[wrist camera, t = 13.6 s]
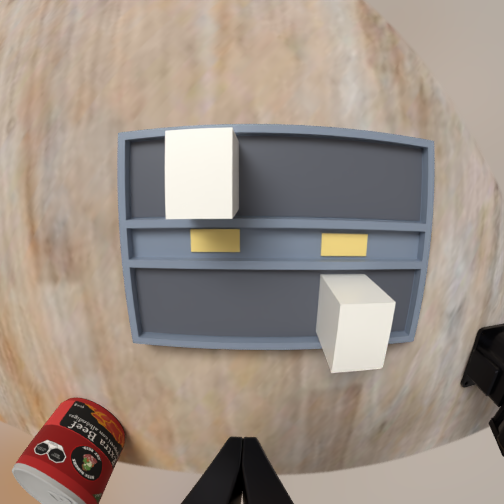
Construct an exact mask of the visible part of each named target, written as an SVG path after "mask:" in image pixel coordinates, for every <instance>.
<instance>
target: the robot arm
mask: <svg viewBox="0 0 504 504" xmlns="http://www.w3.org/2000/svg"><path fill="white" fill-rule="evenodd" d="M475 384H476V385H477V386H478V388H479V389H480V390H481V391H482V392H483V393H484V394H485V395H486V396H489V397H490V398H491V399H492V401H493V402H494V403H495V404H496V405H497V406H498V407H500V406H501V407H500V408H499V410H498V411H497V413H496V414H495V416H494V417H493V418H492V419H491V420H490V421H489V425H490V427H491V430H492V432H493V434H494V437H495V439H496V441H497V444H498V446H499V449H500V451H501V453H502V456H504V324H499V325H494V326H489V327H483V328H481V329H480V330H479V331H478V334H477V337H476V341H475V344H474V347H473V350H472V353H471V356H470V359H469V362H468V365H467V368H466V371H465V373H464V376H463V379H462V381H461V385H462V386H463V387H468V386H471V385H475ZM242 494H243V504H294V503H293V501H292V500H291V498H290V496H289V495H288V493H287V491H286V490H285V488H284V486H283V484H282V483H281V481H280V479H279V477H278V476H277V474H276V472H275V470H274V469H273V467H272V465H271V463H270V461H269V460H268V458H267V456H266V454H265V452H264V450H263V449H262V447H261V445H260V443H259V441H258V439H257V438H256V437H244V438H242V437H230V438H229V439H228V440H227V441H226V443H225V444H224V446H223V447H222V449H221V450H220V452H219V453H218V454H217V456H216V457H215V459H214V460H213V461H212V463H211V464H210V466H209V467H208V468H207V470H206V471H205V472H204V474H203V475H202V477H201V478H200V479H199V481H198V482H197V483H196V485H195V486H194V487H193V489H192V490H191V491H190V493H189V494H188V495H187V496H186V498H185V499H184V500H183V502H182V503H181V504H241V498H242Z"/></svg>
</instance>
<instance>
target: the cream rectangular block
mask: <svg viewBox="0 0 504 504" xmlns="http://www.w3.org/2000/svg"><path fill="white" fill-rule="evenodd" d="M238 210H239V141H238V139H237V137H236V134H235V132H234V130H233V127H227V128H199V129H182V130H169V131H165V213H166V219H232V218H233V217H234V216H235V214H236V213H237V211H238Z"/></svg>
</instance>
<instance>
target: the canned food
mask: <svg viewBox="0 0 504 504" xmlns="http://www.w3.org/2000/svg"><path fill="white" fill-rule="evenodd" d="M124 443H125V434H124V430H123V428H122V426H121V424H120V423H119V422H118V420H117V419H116V418H115V417H114V416H113V415H112V414H111V413H110V412H108V411H107V410H106V409H105V408H103V407H101V406H100V405H98V404H96V403H94V402H92V401H89V400H86V399H82V398H70V399H68V400H66V401H64V402H63V403H61V404H60V405H59V407H58V408H57V409H56V410H55V412H54V413H53V414H52V416H51V417H50V418H49V419H48V421H47V422H46V423H45V424H44V426H43V427H42V428H41V430H40V431H39V432H38V434H37V435H36V436H35V438H34V439H33V440H32V441H31V443H30V444H29V445H28V447H27V448H26V449H25V451H24V452H23V454H22V455H21V456H20V458H19V459H18V461H17V462H16V464H15V465H14V468H13V469H12V472H13V475H14V477H15V478H16V480H17V481H18V483H19V484H20V485H21V486H22V487H23V488H24V489H25V490H26V491H27V492H28V493H29V494H30V495H31V496H32V497H34V498H35V499H36V500H38V501H39V502H41V503H42V504H99V501H100V499H101V497H102V494H103V492H104V490H105V488H106V485H107V483H108V481H109V478H110V476H111V474H112V471H113V469H114V467H115V465H116V462H117V460H118V458H119V456H120V453H121V451H122V449H123V447H124Z"/></svg>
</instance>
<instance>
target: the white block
mask: <svg viewBox="0 0 504 504" xmlns="http://www.w3.org/2000/svg"><path fill="white" fill-rule="evenodd" d="M395 304H396V302H395V301H394V300H393V299H392V298H391V297H390V296H388V295H387V294H386V293H385V292H384V291H383V290H382V289H381V288H380V287H379V286H377V285H376V284H375V283H374V282H373V281H372V280H371V279H370V278H369V277H368V276H366V275H365V274H320V287H319V300H318V312H317V323H316V333H317V336H318V338H319V341H320V344H321V346H322V349H323V352H324V354H325V357H326V360H327V363H328V365H329V368H330V371H331V373H338V372H350V371H362V370H372V369H381V368H383V364H384V359H385V355H386V350H387V346H388V341H389V336H390V331H391V326H392V321H393V315H394V310H395Z"/></svg>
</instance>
